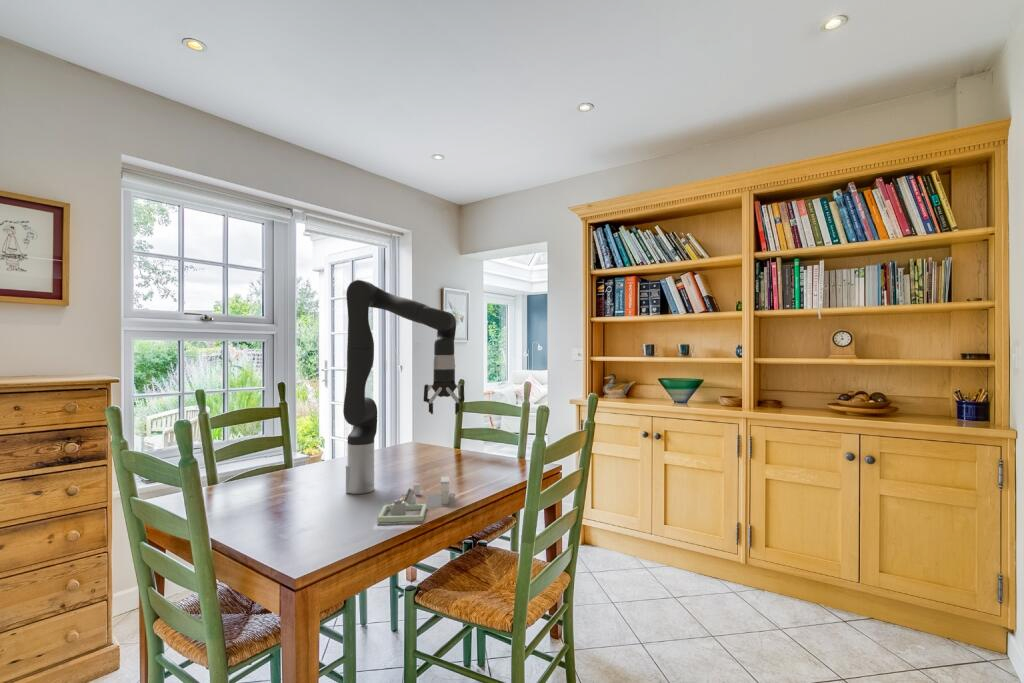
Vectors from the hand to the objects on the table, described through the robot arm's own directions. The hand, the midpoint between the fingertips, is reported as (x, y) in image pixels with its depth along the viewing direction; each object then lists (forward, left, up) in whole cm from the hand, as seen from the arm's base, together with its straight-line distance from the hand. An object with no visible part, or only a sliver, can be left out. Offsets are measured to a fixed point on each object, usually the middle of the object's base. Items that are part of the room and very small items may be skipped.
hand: (444, 413), depth 172 cm
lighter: (-11, -24, -28) cm, 38 cm away
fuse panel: (-5, -11, -28) cm, 31 cm away
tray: (-11, -24, -28) cm, 39 cm away
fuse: (+1, -11, -27) cm, 29 cm away
